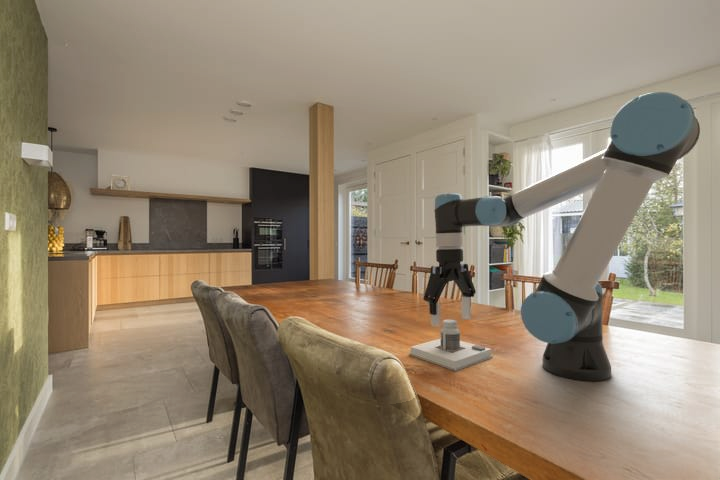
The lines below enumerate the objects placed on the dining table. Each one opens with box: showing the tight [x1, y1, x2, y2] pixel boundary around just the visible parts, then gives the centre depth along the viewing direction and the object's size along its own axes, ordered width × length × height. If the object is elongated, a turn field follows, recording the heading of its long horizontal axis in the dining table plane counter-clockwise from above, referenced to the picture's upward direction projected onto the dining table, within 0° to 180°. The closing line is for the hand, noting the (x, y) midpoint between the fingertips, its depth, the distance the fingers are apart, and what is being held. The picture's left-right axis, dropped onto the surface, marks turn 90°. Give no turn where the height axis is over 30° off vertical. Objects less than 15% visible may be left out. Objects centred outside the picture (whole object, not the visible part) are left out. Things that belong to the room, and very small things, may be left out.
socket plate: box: [408, 338, 493, 372], centre depth 105 cm, size 17×17×3 cm
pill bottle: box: [440, 319, 461, 353], centre depth 105 cm, size 5×5×10 cm
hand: (451, 322), depth 105 cm, fingers open, 13 cm apart
